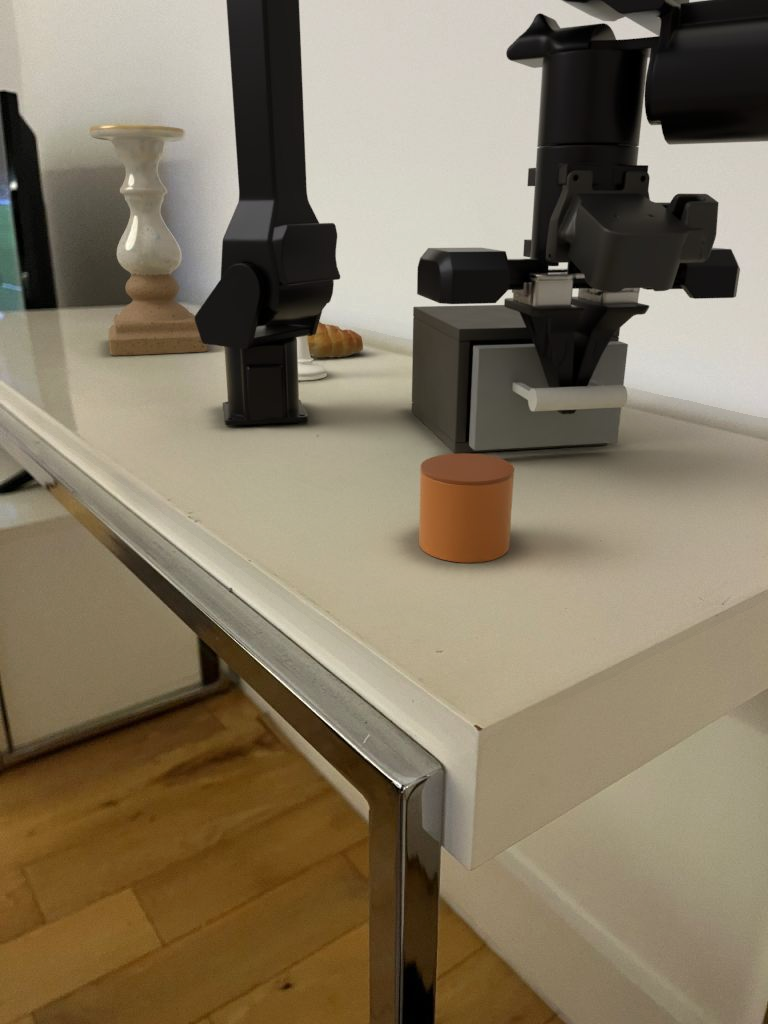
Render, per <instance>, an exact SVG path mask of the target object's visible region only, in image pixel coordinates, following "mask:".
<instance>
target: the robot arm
mask: <svg viewBox="0 0 768 1024" xmlns="http://www.w3.org/2000/svg"><path fill="white" fill-rule="evenodd" d="M225 1H226V16H227V29H228V30H227V31H228V44H229V45H228V46H229V61H230V75H231V90H232V105H233V107H232V108H233V119H234V121H233V122H234V135H235V149H236V164H237V165H236V166H237V179H238V181H237V183H238V202H237V204H236V207H235V209H234V211H233V214H232V217H231V218H230V221H229V224H228V225H227V228H226V230H225V233H224V235H223V237H222V243H221V262H220V263H221V265H220V280H218V283H217V284H216V286H215V287H214V288H213V289H212V291H211V292H210V293H209V295H208V296H207V298H206V300H205V301H204V302H203V303H202V305H201V306H200V308H198V311H197V312H196V313H195V314H194V316H195V322H196V325H197V328H198V332H199V335H200V338H201V341H202V343H203V344H207V345H209V346H218V347H224V359H225V361H224V362H225V376H226V393H227V401H224V402H222V413H223V421H224V425H225V426H248V425H249V426H250V425H270V424H291V423H305V422H308V421H309V414H308V413H307V411H306V409H305V406H304V405H303V403H302V401H301V400H300V394H299V381H298V358H297V337H302V336H312V335H315V334H316V331H317V328H318V324H319V322H321V316H322V313H323V310H324V309H325V307H326V306H327V304H329V303H331V300H332V297H333V294H334V285H335V282H334V281H336V280H340V279H341V274H340V271H339V268H338V264H337V243H338V230H337V226H336V224H335V223H333V222H322V223H320V221H319V219H318V218H317V215H316V214H315V212H314V209H313V207H312V205H311V204H310V201H309V197H308V190H307V164H306V163H307V162H306V143H305V142H306V140H305V115H304V113H305V112H304V91H303V67H302V66H303V64H302V42H301V40H302V39H301V18H300V17H301V16H300V15H301V14H300V0H225ZM561 2H564V3H565V4H567V5H570V6H571V7H573V8H575V9H576V10H579V11H581V12H583V13H584V14H586V15H588V16H591V17H593V18H595V19H598V20H600V21H602V22H604V23H594V24H586V25H585V24H584V25H575V26H567V27H560V25H559V24H558V22H557V21H556V19H554V18H552V17H550V16H548V15H545V13H537V14H536V15H535V16H534V17H533V20H532V22H531V23H530V24H529V26H528V28H527V29H525V31H524V32H522V34H520V35H519V36H518V37H517V38H516V39H515V40H514V41H513V42H512V43H511V44H510V45H508V48H506V53H505V54H506V58H507V59H508V60H509V61H511V62H513V63H516V64H520V65H522V66H527V67H529V68H533V69H539V68H541V81H540V94H539V95H540V97H539V114H538V128H537V129H538V130H537V144H536V145H537V146H536V147H537V148H536V161H535V162H536V164H535V167H529V168H528V169H527V187H534V192H533V193H534V195H533V208H532V209H533V211H532V224H531V225H532V226H531V239H523V252H522V253H523V254H522V255H523V257H524V258H508V256H507V251H505V250H500V249H493V248H487V247H428V248H427V249H426V250H425V251H424V252H423V254H422V255H421V256H420V258H419V260H418V263H417V274H416V275H417V276H416V277H417V280H416V282H417V283H416V284H417V285H416V295H418V296H420V297H423V298H425V299H428V300H431V301H433V302H435V303H437V304H443V305H471V304H472V305H474V304H475V305H478V304H479V305H483V304H496V303H497V302H498V301H499V300H500V299H501V298H502V297H504V295H505V294H506V293H507V292H508V291H511V293H512V297H507V298H504V301H503V305H505V307H506V308H509V309H512V310H515V311H518V312H519V313H520V315H521V317H522V319H523V321H524V323H525V325H526V328H527V330H528V332H529V334H530V336H531V338H532V340H533V343H534V345H535V347H536V350H537V353H538V356H539V358H540V362H541V365H542V368H543V371H544V374H545V377H546V380H547V383H548V386H549V388H556V387H580V386H588V384H589V381H590V379H591V377H592V375H593V373H594V371H595V368H596V366H597V364H598V362H599V360H600V358H601V356H602V354H603V352H604V350H605V349H606V347H607V345H608V344H609V342H610V340H611V339H612V337H613V335H614V334H615V332H616V331H617V330H618V329H619V328H620V329H621V327H623V326H624V325H625V324H626V323H627V322H628V321H629V320H631V319H632V318H633V317H635V316H639V315H645V314H646V313H647V312H648V310H649V308H650V305H648V304H645V303H640V302H639V296H640V292H641V291H640V290H641V289H643V290H648V291H649V290H651V291H652V290H653V292H667V291H669V290H683V291H684V292H685V294H686V295H687V296H688V297H689V298H690V299H695V300H696V299H697V300H698V299H699V300H700V299H734V298H736V297H737V294H738V286H739V281H740V273H741V268H740V266H739V263H738V261H737V258H736V255H735V254H734V252H733V250H732V248H722V247H714V244H715V241H716V238H717V233H718V232H717V230H718V215H719V204H720V203H719V201H718V200H716V199H715V198H713V197H712V196H710V195H709V194H708V193H676V194H675V195H674V196H673V197H672V199H671V200H670V202H655V201H652V200H651V197H650V192H649V188H650V177H651V176H650V174H649V173H648V172H649V165H648V164H647V165H646V164H638V160H639V159H638V158H639V149H640V148H639V146H640V138H641V127H642V118H643V109H645V110H644V111H645V117H646V120H647V122H648V124H649V125H650V126H660V127H661V133H662V135H663V139H664V141H665V142H666V143H667V144H668V145H694V144H695V145H697V144H728V143H730V144H731V143H754V142H755V143H756V142H768V0H698V1H690V0H561ZM624 18H627V19H629V20H631V21H632V22H633V23H635V24H637V25H639V26H641V27H642V28H644V29H645V30H648V31H649V32H651V33H653V34H655V36H648V37H638V38H626V39H625V38H624V39H617V38H616V35H615V32H614V30H613V29H612V27H610V25H609V24H607V23H605V22H617V21H618V20H620V19H624ZM648 60H649V61H648ZM560 263H562V264H563V263H564V264H565V263H567V265H566V266H567V268H549V267H559V266H560ZM574 289H576V290H577V289H578V291H577V296H573V290H574ZM557 411H558V412H559V413H561V414H574V413H575V412H576V410H557Z"/></svg>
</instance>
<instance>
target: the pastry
mask: <svg viewBox="0 0 768 1024" xmlns="http://www.w3.org/2000/svg"><path fill="white" fill-rule="evenodd" d="M307 339H308V346H309V352H310V356H313V357H315V358H325V357H330V358H331V359H333V358H336V357H337V358H338V359H339V358H341V357H348V356H351V355H353V354H361V352H362V351H364V343H363V337H362V335H360V334H359V333H357V332H355V331H354V330H352V329H341V328H340V327H339V325H334V324H328V323H322V322H321V321H319V324H318V328H317V331H316V334H315V335H312V336H307Z"/></svg>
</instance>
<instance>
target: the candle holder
mask: <svg viewBox="0 0 768 1024" xmlns="http://www.w3.org/2000/svg"><path fill="white" fill-rule="evenodd" d="M89 134H90V136H91V138H92V139H93V138H94V139H97V140H102V141H110V142H111V143H112V145H113V147H114V151H115V153H116V155H117V156H118V157H119V158H120V160H121V161H122V164H123V165H124V169H125V176H124V181H123V183H122V184H121V186H120V188H119V193H120V194H121V195H123V197H124V201H125V202H126V203H127V206H128V208H129V210H130V211H129V212H130V213H129V214H130V215H129V219H128V221H127V222H128V223H127V225H126V227H125V229H124V231H123V233H122V235H121V237H120V239H119V241H118V244H117V247H116V259H117V261H118V264H119V265H120V266H121V267H122V269H123V270H125V271H126V272H128V273H130V277H129V279H127V281H126V283H125V293H126V294H127V295H128V296H129V297H130V298H131V299H132V301H131V302H130V303H128V304H127V305H126V306H125V307H124V308H123V309H121V311H120V312H119V313H118V314H115V315H114V316H113V324H112V325H110V326H109V328H108V344H109V345H108V346H109V354H110V356H136V355H137V356H140V355H141V356H143V355H162V354H163V355H164V354H183V353H186V354H187V353H200V352H201V353H202V352H203V353H204V352H208V349H209V348H208V344H203V343H202V341H201V338H200V335H199V332H198V328H197V325H196V322H195V314H194V313H193V312H190V311H189V309H188V308H186V307H185V306H184V305H183V304H181V303H179V302H178V301H176V300H175V297H176V296H177V295H178V294H179V292H180V284H179V283H178V281H177V280H176V279H175V278H174V277H173V275H172V273H173V272H174V271H176V270H177V269H178V267H179V266H180V264H181V263H182V258H183V256H182V255H183V253H182V249H181V246H180V245H179V243H178V241H177V240H176V238H175V236H174V235H173V233H172V232H171V230H170V229H169V227H168V226H167V224H166V223H165V221H164V217H163V216H162V212H161V208H162V204H163V202H164V197H165V195H167V194H168V189H167V187H165V185H164V184H163V183H162V180H161V178H160V175H159V163H160V160H161V159H162V157H163V156H164V154H165V150H166V149H165V148H166V145H167V143H170V142H171V143H172V142H180V141H183V140H185V138H186V130H185V129H183V128H180V127H175V126H166V125H153V124H152V125H150V124H149V125H148V124H101V125H93V126H90V127H89Z"/></svg>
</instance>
